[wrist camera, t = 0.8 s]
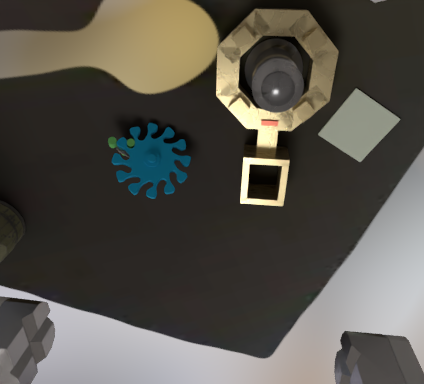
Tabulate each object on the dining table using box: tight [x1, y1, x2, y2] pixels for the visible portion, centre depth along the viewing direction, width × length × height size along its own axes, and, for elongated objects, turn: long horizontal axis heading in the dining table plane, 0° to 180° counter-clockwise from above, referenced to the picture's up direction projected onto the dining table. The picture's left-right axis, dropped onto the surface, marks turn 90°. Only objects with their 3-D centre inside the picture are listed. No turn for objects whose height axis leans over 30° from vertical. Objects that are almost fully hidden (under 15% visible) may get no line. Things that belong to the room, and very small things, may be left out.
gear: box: [108, 123, 191, 199], centre depth 48 cm, size 11×6×10 cm
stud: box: [245, 38, 304, 113], centre depth 38 cm, size 7×7×10 cm
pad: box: [318, 88, 400, 162], centre depth 45 cm, size 7×7×1 cm
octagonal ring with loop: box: [216, 8, 339, 206], centre depth 43 cm, size 23×13×4 cm, turn 179°
